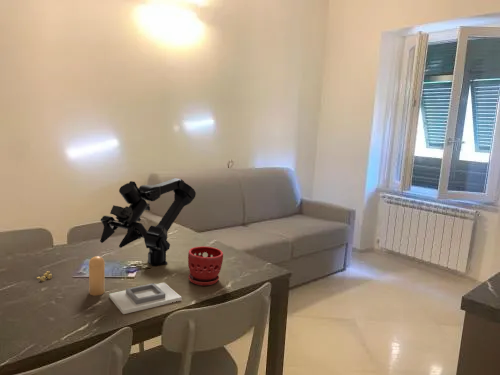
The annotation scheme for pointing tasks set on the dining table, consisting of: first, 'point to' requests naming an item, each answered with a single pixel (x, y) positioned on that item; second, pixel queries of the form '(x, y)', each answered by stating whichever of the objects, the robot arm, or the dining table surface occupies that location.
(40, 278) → the yellow knobbed cluster
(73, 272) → the dining table surface
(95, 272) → the orange domed cylinder
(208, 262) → the plant pot
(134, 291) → the plate
